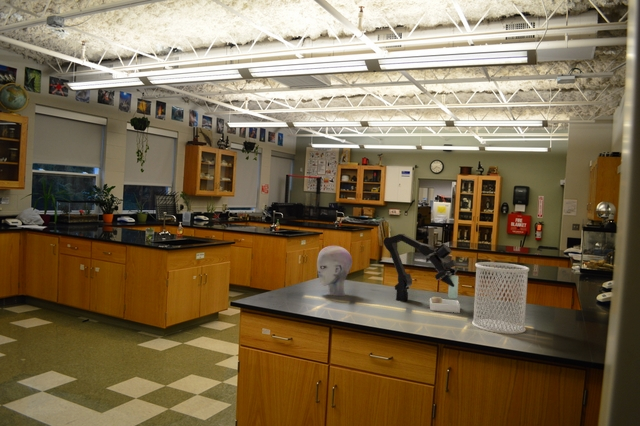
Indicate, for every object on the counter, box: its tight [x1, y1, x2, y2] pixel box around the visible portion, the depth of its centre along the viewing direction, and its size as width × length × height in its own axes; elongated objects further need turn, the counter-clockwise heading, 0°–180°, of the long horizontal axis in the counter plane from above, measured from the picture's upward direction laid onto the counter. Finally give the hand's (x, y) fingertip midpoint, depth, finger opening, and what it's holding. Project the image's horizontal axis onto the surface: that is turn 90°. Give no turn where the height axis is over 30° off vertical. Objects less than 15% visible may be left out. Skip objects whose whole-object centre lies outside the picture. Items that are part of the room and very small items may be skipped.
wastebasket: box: [471, 261, 530, 335], centre depth 228 cm, size 25×25×30 cm
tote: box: [429, 297, 461, 314], centre depth 262 cm, size 16×14×4 cm
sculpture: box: [316, 245, 353, 296], centre depth 288 cm, size 22×20×30 cm
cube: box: [432, 296, 443, 304], centre depth 262 cm, size 5×5×5 cm
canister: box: [447, 274, 459, 299], centre depth 261 cm, size 5×5×12 cm
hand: (455, 285), depth 261 cm, fingers closed on canister, 5 cm apart
